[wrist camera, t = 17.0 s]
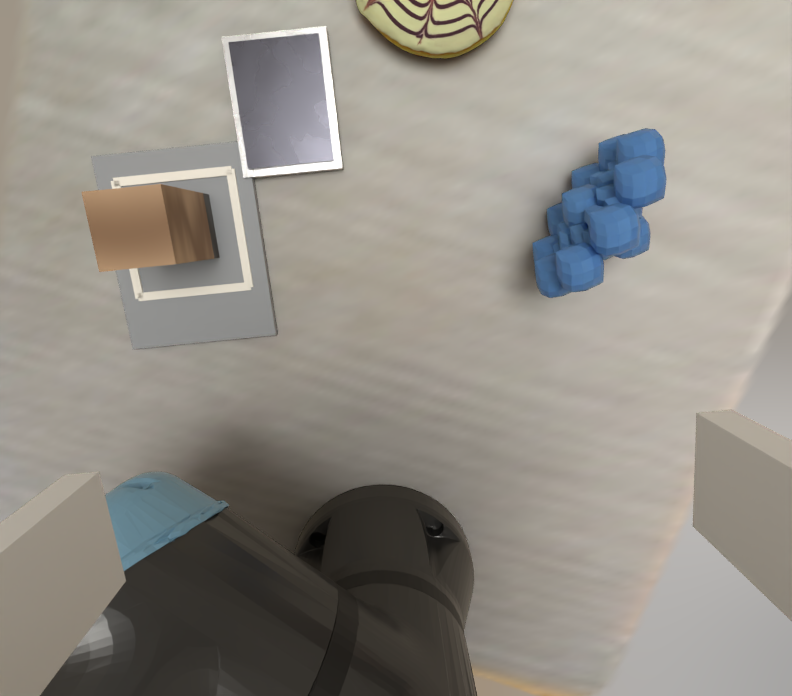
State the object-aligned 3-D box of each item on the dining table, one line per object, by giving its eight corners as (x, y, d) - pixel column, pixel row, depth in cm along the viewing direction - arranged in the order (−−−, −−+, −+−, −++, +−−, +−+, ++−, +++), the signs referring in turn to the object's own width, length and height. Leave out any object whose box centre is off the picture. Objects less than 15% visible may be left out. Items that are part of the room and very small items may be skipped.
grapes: (565, 313, 40) (639, 347, 28) (491, 269, 39) (536, 285, 27) (655, 178, 37) (776, 153, 26) (579, 127, 37) (670, 78, 25)
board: (277, 333, 40) (275, 335, 39) (136, 347, 40) (131, 349, 39) (248, 142, 36) (245, 139, 36) (95, 157, 37) (89, 155, 36)
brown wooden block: (219, 257, 38) (175, 264, 30) (159, 263, 38) (99, 272, 30) (208, 194, 37) (160, 184, 29) (146, 200, 37) (81, 191, 29)
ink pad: (343, 169, 37) (341, 166, 36) (247, 179, 37) (241, 177, 36) (327, 31, 35) (325, 23, 34) (226, 42, 35) (219, 34, 34)
